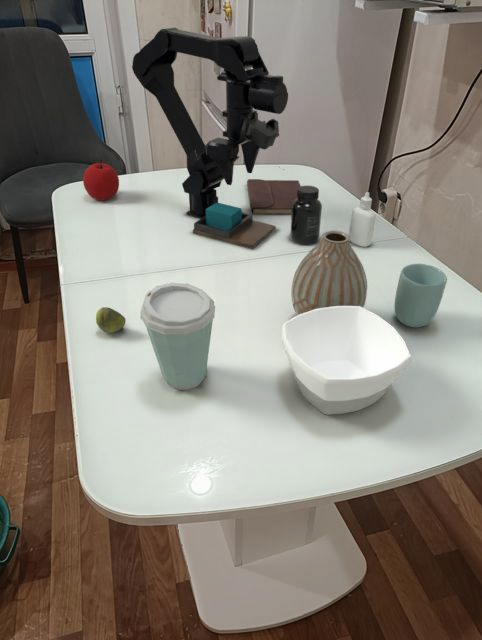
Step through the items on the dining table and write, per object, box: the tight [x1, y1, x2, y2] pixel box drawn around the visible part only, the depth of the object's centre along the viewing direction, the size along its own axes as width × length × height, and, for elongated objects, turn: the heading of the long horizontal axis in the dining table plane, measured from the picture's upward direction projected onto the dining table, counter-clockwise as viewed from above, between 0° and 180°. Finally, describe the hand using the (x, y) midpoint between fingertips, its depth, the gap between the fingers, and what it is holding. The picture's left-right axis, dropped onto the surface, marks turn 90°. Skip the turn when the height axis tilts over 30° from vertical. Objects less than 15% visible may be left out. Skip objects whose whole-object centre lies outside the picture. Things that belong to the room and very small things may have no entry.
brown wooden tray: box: [192, 211, 277, 250], centre depth 122 cm, size 16×12×2 cm
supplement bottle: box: [289, 185, 323, 245], centre depth 117 cm, size 7×7×12 cm
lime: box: [95, 306, 127, 333], centre depth 88 cm, size 4×5×5 cm
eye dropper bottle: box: [348, 191, 377, 248], centre depth 116 cm, size 4×6×12 cm
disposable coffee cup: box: [140, 282, 216, 391], centre depth 76 cm, size 11×11×15 cm
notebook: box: [246, 178, 302, 215], centre depth 138 cm, size 15×20×2 cm
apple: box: [82, 158, 120, 201], centre depth 133 cm, size 9×9×10 cm
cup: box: [393, 263, 448, 328], centre depth 92 cm, size 8×8×10 cm
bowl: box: [280, 306, 412, 415], centre depth 78 cm, size 18×18×9 cm
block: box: [206, 202, 243, 231], centre depth 122 cm, size 5×7×4 cm
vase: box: [290, 230, 368, 316], centre depth 88 cm, size 13×13×18 cm
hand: (239, 178), depth 118 cm, fingers open, 9 cm apart
